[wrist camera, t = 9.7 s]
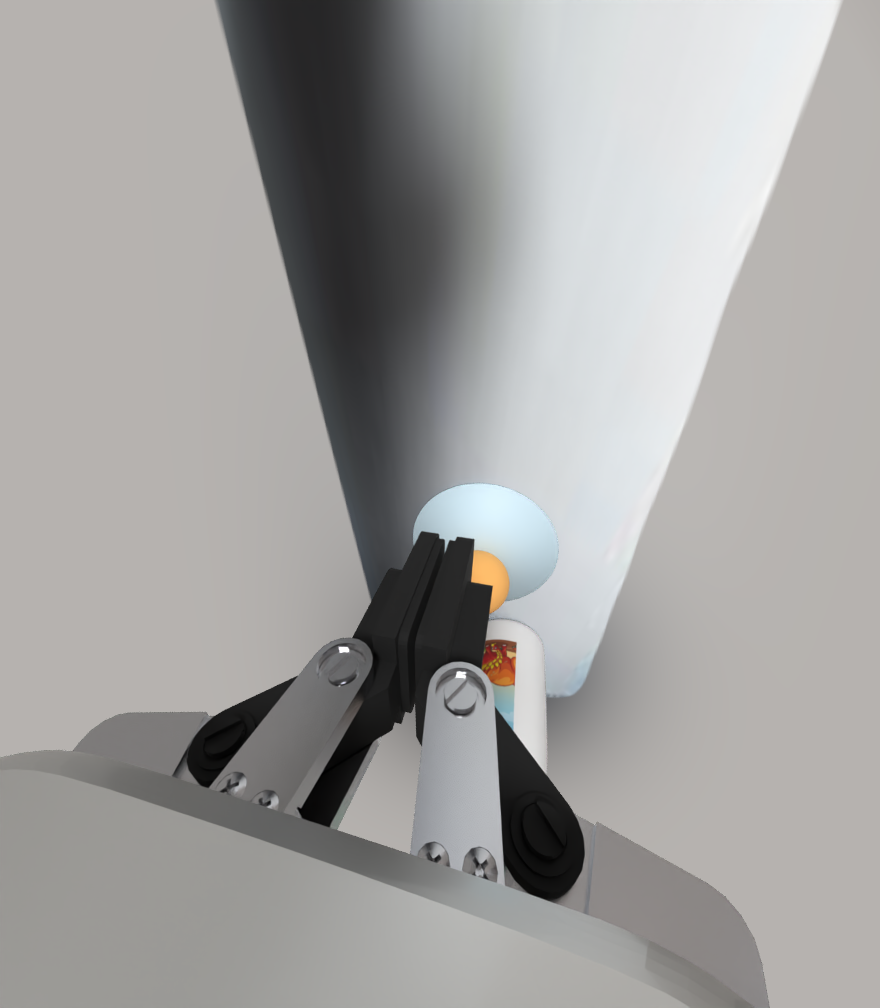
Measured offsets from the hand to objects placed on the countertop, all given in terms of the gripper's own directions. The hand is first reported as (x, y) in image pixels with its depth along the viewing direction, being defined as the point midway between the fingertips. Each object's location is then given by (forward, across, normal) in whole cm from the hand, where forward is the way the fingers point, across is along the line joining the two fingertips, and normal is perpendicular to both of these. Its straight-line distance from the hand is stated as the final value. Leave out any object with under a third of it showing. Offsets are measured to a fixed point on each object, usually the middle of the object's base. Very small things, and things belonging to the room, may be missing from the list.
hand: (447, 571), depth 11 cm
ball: (+14, 0, +14) cm, 20 cm away
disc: (+17, 0, +12) cm, 21 cm away
